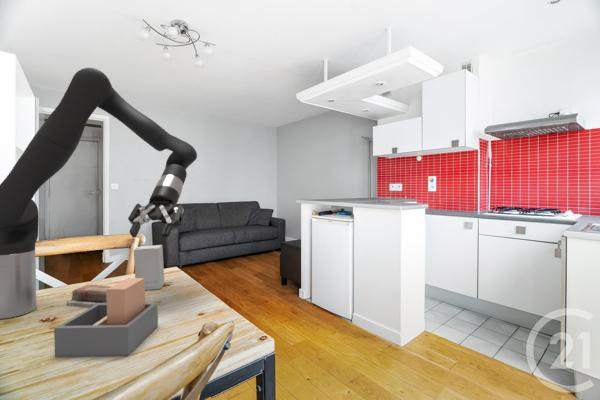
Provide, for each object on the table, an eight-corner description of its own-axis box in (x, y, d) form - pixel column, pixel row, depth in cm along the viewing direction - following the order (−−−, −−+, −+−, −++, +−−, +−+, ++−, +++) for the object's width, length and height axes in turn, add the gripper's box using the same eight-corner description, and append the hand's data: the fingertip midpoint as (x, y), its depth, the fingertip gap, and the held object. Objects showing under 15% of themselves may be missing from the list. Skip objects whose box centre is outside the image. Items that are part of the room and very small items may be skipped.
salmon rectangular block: (107, 343, 62) (106, 289, 62) (128, 326, 70) (128, 278, 70) (125, 343, 62) (125, 289, 62) (145, 326, 70) (144, 278, 70)
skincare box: (164, 284, 105) (164, 244, 105) (160, 289, 99) (159, 247, 99) (139, 285, 103) (139, 245, 103) (134, 291, 97) (133, 248, 97)
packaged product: (64, 291, 85) (94, 281, 95) (64, 307, 85) (94, 295, 95) (116, 295, 82) (141, 284, 92) (116, 311, 82) (141, 299, 92)
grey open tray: (54, 356, 59) (54, 328, 59) (97, 326, 72) (97, 303, 72) (128, 355, 59) (128, 327, 59) (157, 326, 72) (157, 302, 72)
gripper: (139, 183, 86) (116, 227, 75) (186, 185, 86) (169, 229, 75) (148, 199, 91) (128, 242, 81) (193, 201, 92) (178, 244, 81)
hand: (148, 236), depth 78 cm, fingers open, 8 cm apart
